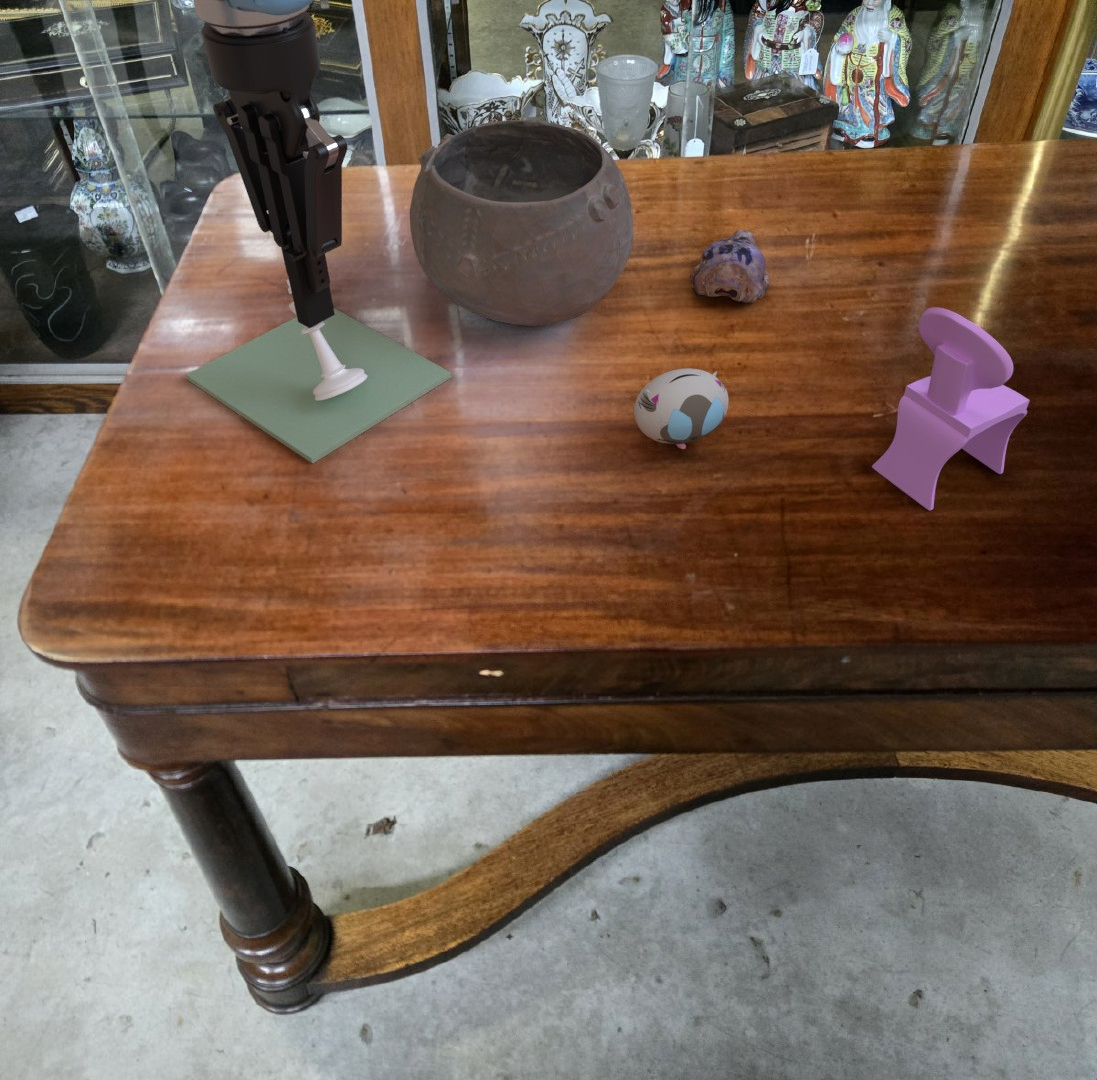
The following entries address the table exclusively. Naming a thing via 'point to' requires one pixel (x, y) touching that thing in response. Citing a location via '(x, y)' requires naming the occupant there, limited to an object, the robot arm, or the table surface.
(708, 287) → the purple rounded piece
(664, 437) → the figurine
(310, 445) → the mat
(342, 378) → the chess piece
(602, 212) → the clay pot
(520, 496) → the table surface
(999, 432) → the toy chair
